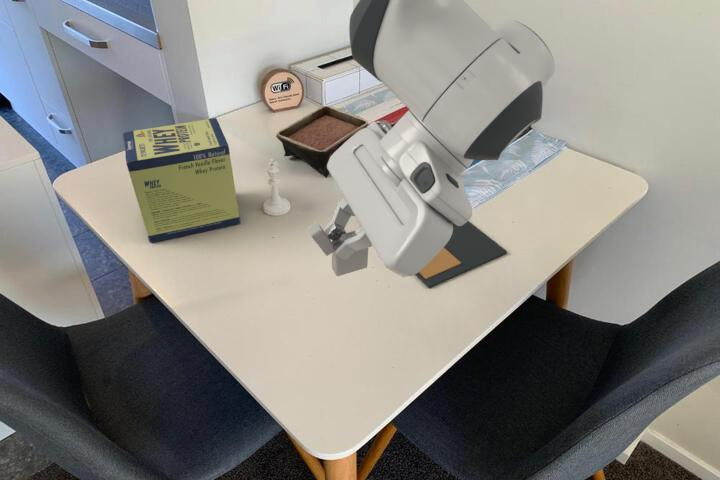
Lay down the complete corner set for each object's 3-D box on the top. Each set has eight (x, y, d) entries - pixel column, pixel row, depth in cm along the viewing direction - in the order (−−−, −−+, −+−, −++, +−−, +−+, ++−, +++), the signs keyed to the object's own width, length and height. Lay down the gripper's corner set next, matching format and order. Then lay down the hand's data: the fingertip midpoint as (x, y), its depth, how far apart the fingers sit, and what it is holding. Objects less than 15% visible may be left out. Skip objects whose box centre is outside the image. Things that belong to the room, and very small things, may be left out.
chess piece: (261, 202, 96) (255, 154, 90) (288, 198, 97) (284, 151, 91) (264, 217, 93) (258, 168, 86) (292, 213, 93) (288, 165, 87)
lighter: (362, 258, 65) (364, 207, 60) (367, 267, 64) (370, 216, 59) (308, 273, 63) (306, 223, 57) (313, 283, 62) (311, 232, 56)
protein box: (242, 223, 91) (229, 144, 81) (149, 244, 86) (123, 162, 76) (230, 192, 99) (217, 116, 89) (143, 210, 94) (119, 131, 84)
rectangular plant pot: (373, 162, 112) (376, 116, 107) (317, 186, 99) (317, 135, 94) (323, 146, 119) (324, 102, 114) (265, 166, 107) (263, 118, 102)
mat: (506, 253, 86) (507, 250, 85) (428, 288, 79) (429, 285, 78) (432, 194, 99) (432, 191, 98) (360, 220, 92) (360, 217, 92)
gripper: (365, 99, 62) (289, 182, 65) (447, 200, 48) (345, 298, 51) (396, 127, 66) (324, 203, 70) (481, 227, 52) (384, 316, 56)
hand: (333, 245), depth 60 cm, fingers closed on lighter, 2 cm apart
